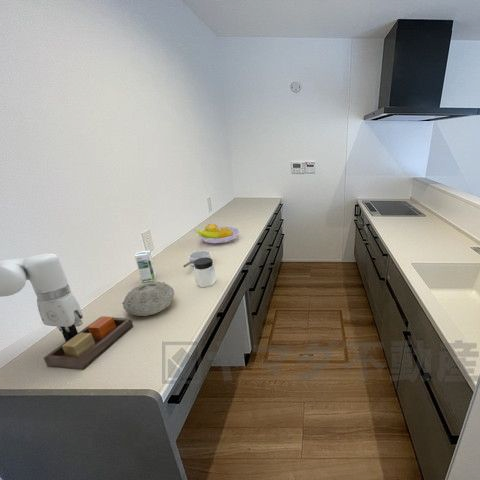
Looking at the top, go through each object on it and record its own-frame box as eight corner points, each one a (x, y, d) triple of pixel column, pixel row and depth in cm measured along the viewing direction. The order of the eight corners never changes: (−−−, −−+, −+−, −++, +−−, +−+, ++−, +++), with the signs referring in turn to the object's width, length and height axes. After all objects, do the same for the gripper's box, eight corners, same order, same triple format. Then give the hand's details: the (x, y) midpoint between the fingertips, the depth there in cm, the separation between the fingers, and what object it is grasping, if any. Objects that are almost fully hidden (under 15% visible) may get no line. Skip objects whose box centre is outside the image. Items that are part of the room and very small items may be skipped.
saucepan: (175, 274, 136) (173, 265, 134) (197, 258, 154) (195, 250, 152) (196, 276, 135) (194, 266, 133) (215, 260, 153) (214, 251, 151)
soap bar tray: (47, 366, 80) (40, 351, 78) (103, 324, 99) (98, 310, 97) (83, 369, 79) (77, 354, 77) (133, 326, 98) (129, 313, 96)
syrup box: (141, 283, 127) (134, 256, 122) (143, 277, 132) (136, 251, 127) (155, 281, 130) (148, 254, 124) (156, 275, 135) (150, 249, 130)
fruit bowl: (236, 232, 200) (235, 217, 196) (242, 244, 177) (240, 228, 173) (196, 236, 190) (194, 221, 186) (196, 250, 166) (194, 233, 162)
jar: (219, 282, 129) (216, 260, 125) (204, 289, 123) (200, 266, 119) (208, 277, 134) (205, 255, 130) (193, 283, 128) (189, 261, 123)
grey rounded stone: (115, 316, 103) (108, 294, 100) (153, 293, 119) (149, 273, 116) (150, 325, 98) (144, 302, 95) (185, 299, 114) (181, 279, 111)
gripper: (18, 297, 80) (40, 345, 86) (64, 300, 79) (82, 348, 85) (44, 284, 87) (63, 330, 93) (86, 287, 86) (102, 332, 92)
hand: (72, 338), depth 89 cm, fingers closed
